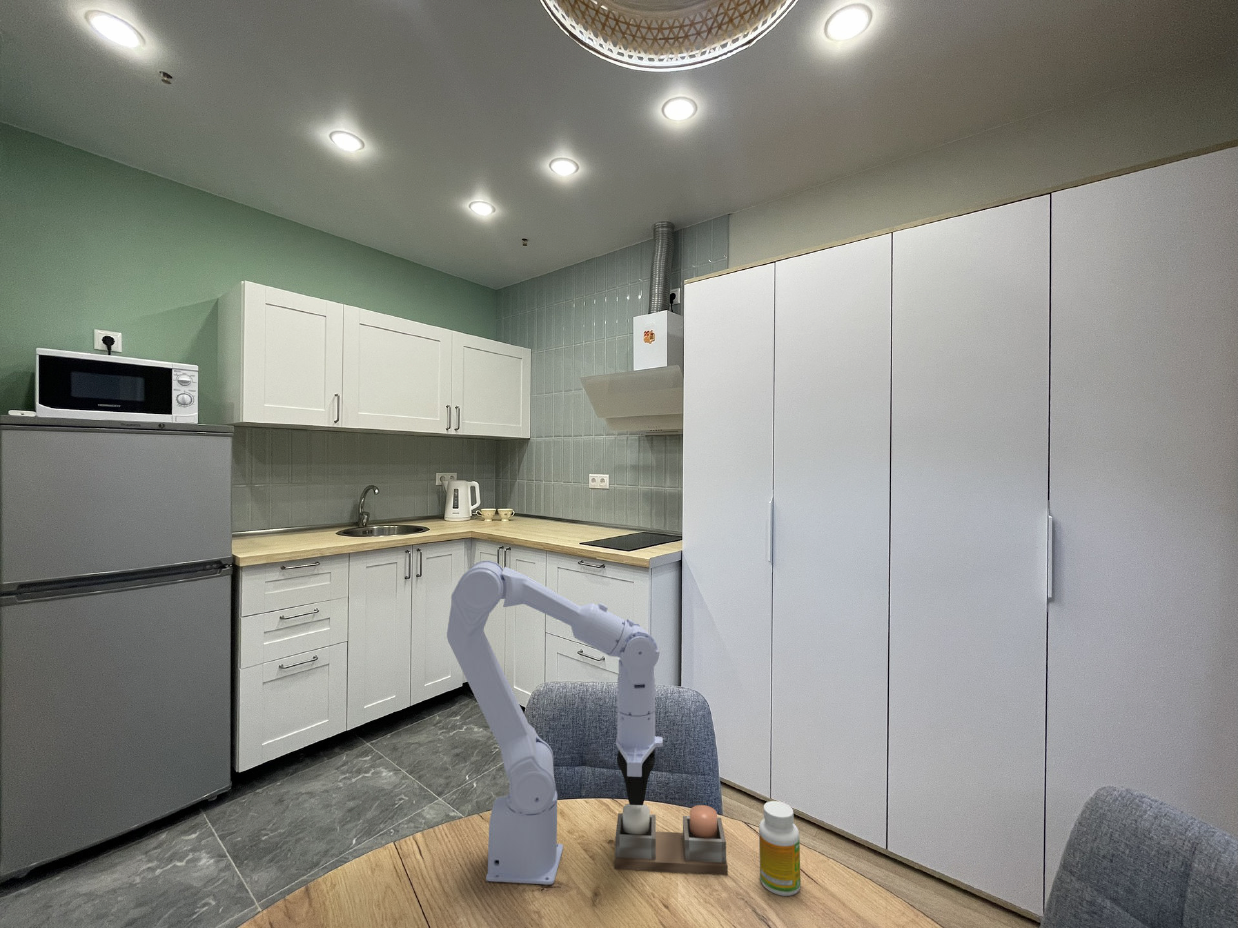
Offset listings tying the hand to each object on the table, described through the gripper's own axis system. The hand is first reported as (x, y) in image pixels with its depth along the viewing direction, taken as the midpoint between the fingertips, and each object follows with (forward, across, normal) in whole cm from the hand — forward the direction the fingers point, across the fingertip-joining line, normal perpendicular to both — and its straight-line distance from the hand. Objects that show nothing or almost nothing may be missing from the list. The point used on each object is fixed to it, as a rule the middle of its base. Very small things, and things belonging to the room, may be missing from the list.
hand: (636, 802), depth 78 cm
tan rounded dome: (+4, 0, -10) cm, 11 cm away
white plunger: (+4, 0, 0) cm, 4 cm away
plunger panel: (+7, 0, -5) cm, 9 cm away
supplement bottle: (+8, -4, -20) cm, 22 cm away
